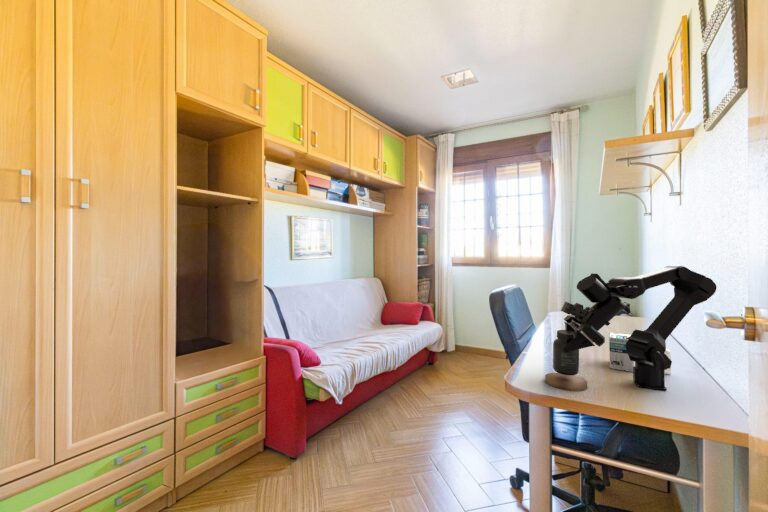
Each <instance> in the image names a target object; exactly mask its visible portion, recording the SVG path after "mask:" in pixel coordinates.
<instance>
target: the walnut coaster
mask: <svg viewBox="0 0 768 512" xmlns="http://www.w3.org/2000/svg"><path fill="white" fill-rule="evenodd" d="M544 378H545V379H544V380H545V383H546V384H547V385H549V386H551V387H552V388H553V387H554V388H555V389H560V390H564V391H570V392H581V391H582V392H583V391H586V390H587V389H588V381H587V379H585V378H583V377H581V376H579V375H577V374H576V375H563V374H560V373H558V372H549V373H546V374H545V376H544Z"/></svg>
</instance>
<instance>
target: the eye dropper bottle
mask: <svg viewBox="0 0 768 512" xmlns="http://www.w3.org/2000/svg"><path fill="white" fill-rule="evenodd" d="M664 353H665V354H666V356H667V357H668V358H669V359H670V360H671V361H672V352H671V351H670V349H669V348H666V351H665V352H664ZM666 374H667V375H666ZM671 374H672V366H671V367H670V368H669V369H667V370H664V375H666V376H668V375H671Z"/></svg>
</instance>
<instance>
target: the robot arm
mask: <svg viewBox="0 0 768 512" xmlns="http://www.w3.org/2000/svg"><path fill="white" fill-rule="evenodd" d="M668 283H669V284H670V285H671V286H673V293H674V296H673V298H672V299H671V300H670V301H669V302H668V303H667V304H666V306H665V307H664V308H663V310H661V312H660V313H659V314H658V315H657V317H656V318H655V319H654V320H653V321H652V323H650V325H649V326H648V328H646V329H645V330H641V329H634V330H633V331H632V332H631V334H630V335H631V336H630V337H628V338H627V339H629V340H628V341H627V342H626V344H625V346H626V350H627V353H628V356H629V359H630V360H631V361H634V365H635V366H633V372H632V380H633V382H634V383H635V384H636V385H637V387H639V388H640V387H641V388H647V389H653V390H661V391H668V390H667V389H668V388H667V387H666V386H665V385H666V384H665V379H666V378H665V374H664V370H667V369H669V368H670V367H671V368H672V363H673V361H672V359H671V360H670V359H669V358H668V357H667V356H666V354H665V353H664V352H665V351H666V349H667V346H666V345H667V343H666V340H667V339H668V337H669V336H670V335H671V334H672V333H673V332H674V331H675V329H676V328H677V327H678V325H679V324H680V323H681V322H682V321H683V319H684V318H685V317H686V316H687V315H688V313H689V312H690V311H691V309H693V307H695V306H696V305H699V304H702V303H704V302H707V301H708V300H709V299H710V298H711V297H712V296H713V295H715V293H716V291H717V284H716V283H715V281H714V280H713V279H711V278H710V277H707V276H706V275H703V274H702V273H698V272H696V271H693V270H691V269H689V268H687V267H686V266H683V265H666V266H665V267H663V268H659V269H655V270H652V271H650V272H649V271H648V272H645V273H642V274H640V275H635V276H629V277H628V276H623V277H614V278H611V279H608V282H606V281H604V279H603V278H601V276H600V274H598V273H593V272H592V273H591V274H589V275H588V276H586V277H584V278H582V279H581V280H579V281H578V282H577V285H576V289H577V290H578V291H579V292H580V293H581V294H582V295H583V296H584V297H585V298H586V299H587V300H588V301H589V302H590V303H593V305H592V306H591V307H589V306H587V307H585V308H584V304H580V303H579V302H576V303H574V304H573V303H570V302H568V301H564V303H563V306H562V307H561V309H560V311H561V312H563V313H565V314H567V315H566V316H565V317H564V318H563V320H564V330H569V331H573V332H575V335H574V337H573V338H572V339H571V340H570V341H569V342H568V344H567V345H566V346H565V347H564V349H563V351H564V352H565V353H567V352H571V351H574V350H578V349H579V350H581V349H586V348H589V347H595V345H596V346H598V347H599V348H600V347H601V346H602V345H604V343H606V338H605V336H604V335H602V334H601V333H600V332H599V331H600V330H601V329H602V328H603V327H604V326H607V327H609V325H610V324H611V322H610V321H611V320H612V319H613V318H615V317H616V316H617V315H618V314H619V313H620V312H625V313H626V314H631V307H630V306H631V304H630V303H628V302H626V301H623V300H622V299H628V300H634V299H637V298H638V297H640V296H643V295H644V294H645V292H646V291H647V290H648V289H652V288H656V287H658V286H661V285H665V284H668ZM621 298H622V299H621Z"/></svg>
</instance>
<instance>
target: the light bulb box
mask: <svg viewBox="0 0 768 512" xmlns="http://www.w3.org/2000/svg"><path fill="white" fill-rule="evenodd" d="M630 336H631V334H628V333H627V334H625V333H620V332H619V333H618V332H612V331H610V333H609V337H608V341H609V342H608V343H609V344H608V345H609V346H608V348H609V369H611V370H612V369H613V370H618V371H624V370H625V372H630V371H632V372H631V373H633V366H634V365H635V361H631V360H630V359H629V356H628V353H627V350H626V346H625V344H626V342H627V341H628V340H629V339H627V338H628V337H630Z"/></svg>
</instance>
